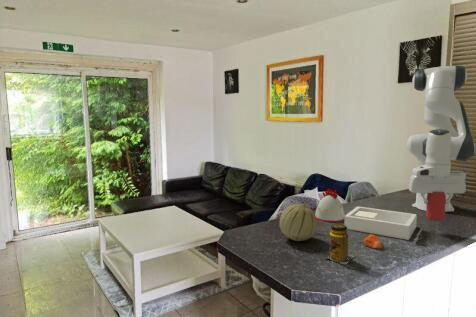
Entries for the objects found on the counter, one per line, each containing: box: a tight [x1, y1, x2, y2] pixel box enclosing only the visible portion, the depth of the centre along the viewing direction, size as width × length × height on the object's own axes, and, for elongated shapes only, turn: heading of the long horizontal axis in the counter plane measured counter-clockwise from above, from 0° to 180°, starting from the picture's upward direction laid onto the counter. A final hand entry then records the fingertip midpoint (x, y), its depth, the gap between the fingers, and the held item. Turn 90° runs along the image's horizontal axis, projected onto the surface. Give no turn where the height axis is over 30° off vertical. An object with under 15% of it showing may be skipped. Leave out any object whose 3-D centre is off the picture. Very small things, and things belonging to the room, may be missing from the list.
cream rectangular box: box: [354, 211, 378, 220], centre depth 144 cm, size 8×8×5 cm
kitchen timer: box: [314, 188, 346, 223], centre depth 157 cm, size 14×14×15 cm
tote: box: [343, 206, 418, 241], centre depth 141 cm, size 18×25×6 cm
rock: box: [363, 233, 383, 250], centre depth 124 cm, size 12×12×4 cm
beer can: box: [425, 192, 446, 222], centre depth 134 cm, size 7×7×12 cm
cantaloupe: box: [279, 202, 318, 242], centre depth 132 cm, size 15×15×15 cm
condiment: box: [329, 223, 355, 266], centre depth 114 cm, size 7×8×12 cm
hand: (435, 203), depth 134 cm, fingers closed on beer can, 7 cm apart
